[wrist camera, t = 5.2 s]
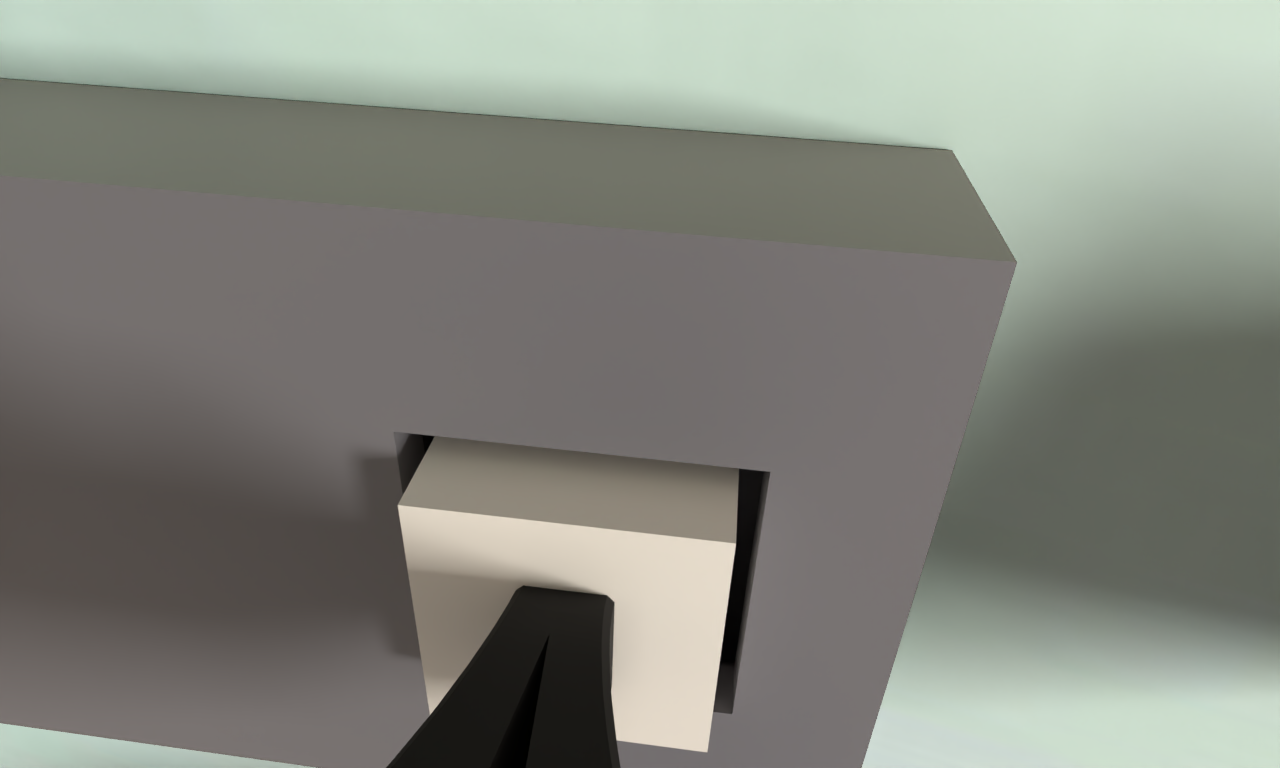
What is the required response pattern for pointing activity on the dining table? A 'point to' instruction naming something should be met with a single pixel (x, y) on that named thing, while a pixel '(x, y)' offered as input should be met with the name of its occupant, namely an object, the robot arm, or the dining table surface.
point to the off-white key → (578, 566)
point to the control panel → (452, 397)
